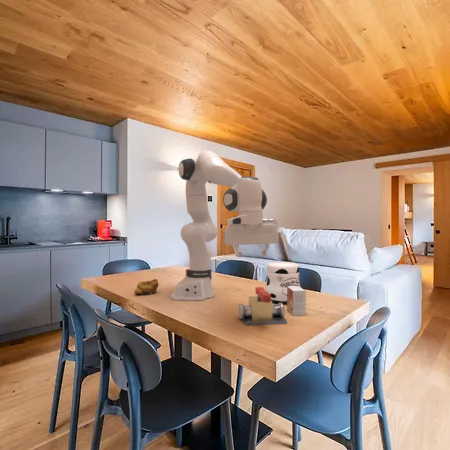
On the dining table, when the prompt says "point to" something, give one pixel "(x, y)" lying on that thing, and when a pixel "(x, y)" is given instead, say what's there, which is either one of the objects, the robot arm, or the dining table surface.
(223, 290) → the dining table surface
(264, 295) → the lever
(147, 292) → the bread roll
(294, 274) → the milk container
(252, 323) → the valve
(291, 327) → the dining table surface
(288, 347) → the dining table surface
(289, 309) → the small box
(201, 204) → the robot arm
